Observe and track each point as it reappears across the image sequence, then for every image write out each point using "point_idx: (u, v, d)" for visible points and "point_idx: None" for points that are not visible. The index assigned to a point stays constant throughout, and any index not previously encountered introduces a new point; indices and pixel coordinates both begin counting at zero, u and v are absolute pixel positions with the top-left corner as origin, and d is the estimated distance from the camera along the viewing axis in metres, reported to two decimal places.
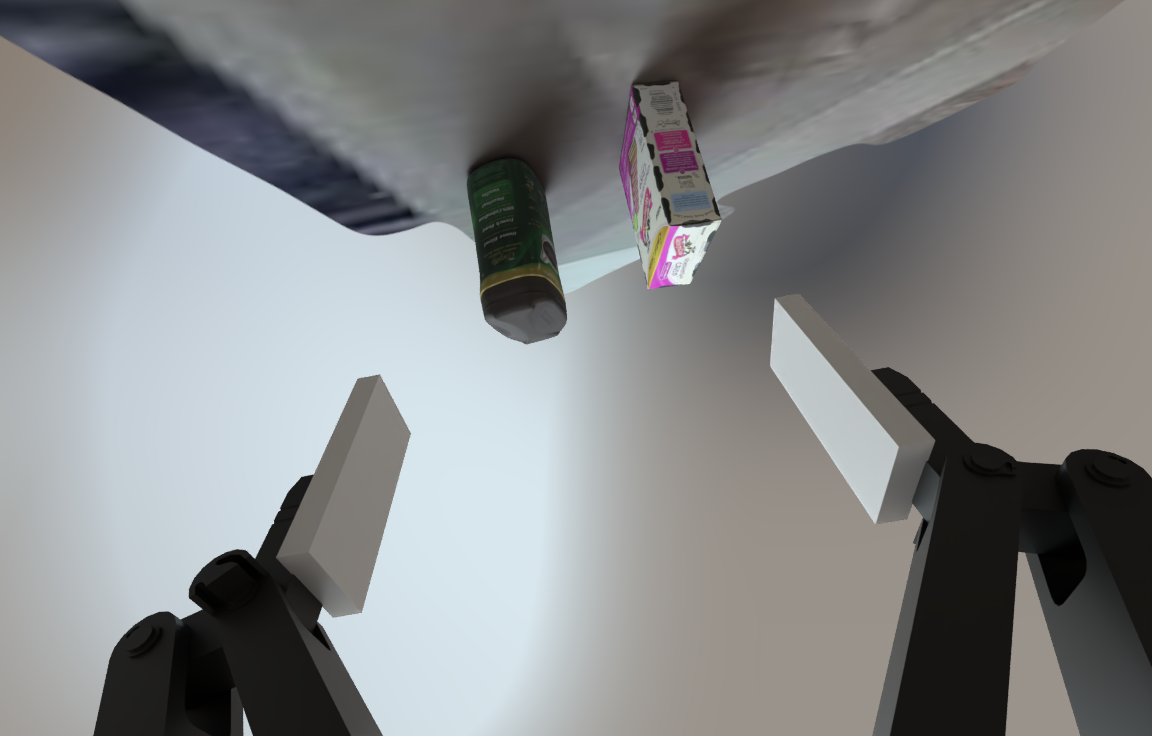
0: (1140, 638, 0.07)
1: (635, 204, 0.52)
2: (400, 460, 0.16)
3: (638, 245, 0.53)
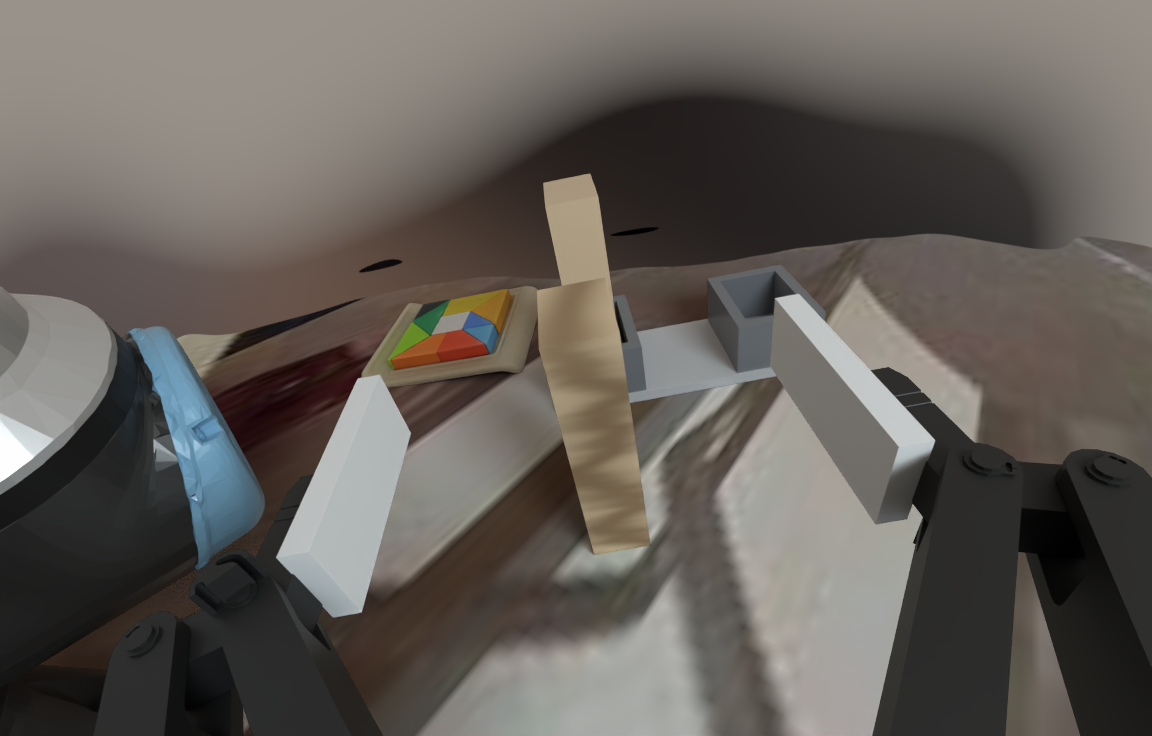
0: (1140, 638, 0.07)
1: None
2: (400, 460, 0.16)
3: None
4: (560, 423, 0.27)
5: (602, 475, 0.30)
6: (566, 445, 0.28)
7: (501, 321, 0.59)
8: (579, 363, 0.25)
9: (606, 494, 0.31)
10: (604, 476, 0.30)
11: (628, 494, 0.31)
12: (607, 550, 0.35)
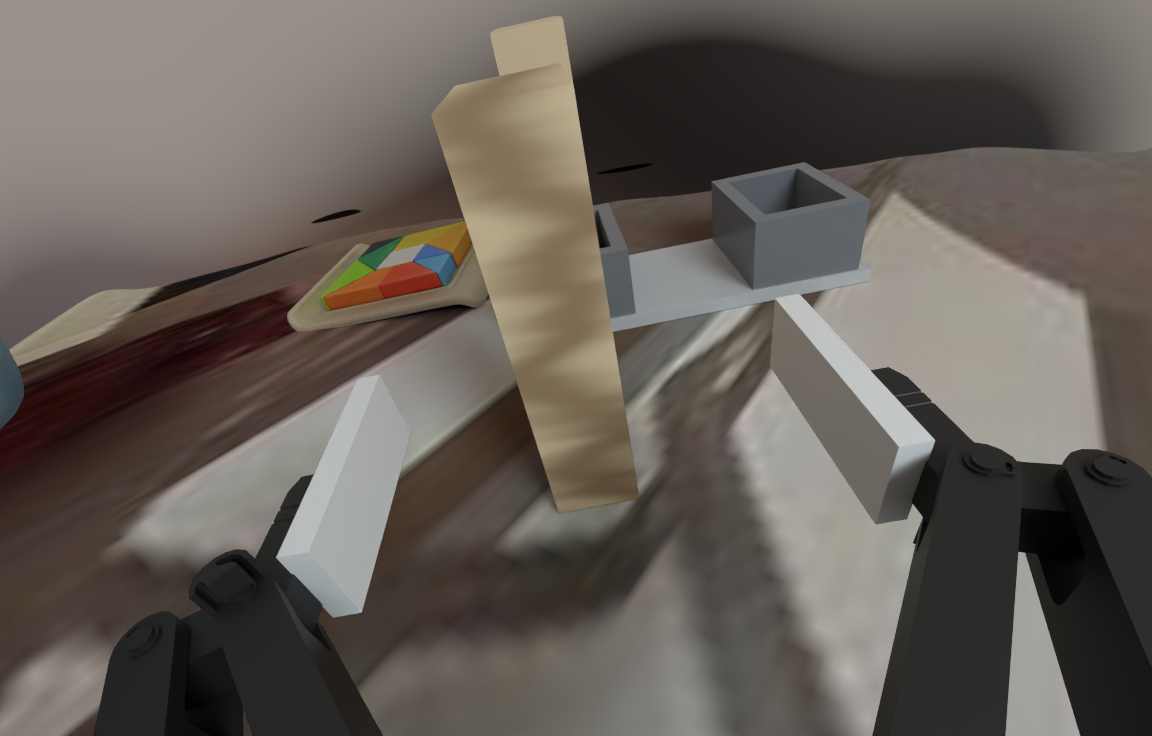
0: (1140, 638, 0.07)
1: None
2: (400, 460, 0.16)
3: None
4: (486, 278, 0.17)
5: (562, 380, 0.20)
6: (500, 322, 0.18)
7: (461, 252, 0.49)
8: (505, 151, 0.14)
9: (570, 413, 0.21)
10: (565, 381, 0.20)
11: (603, 413, 0.21)
12: (577, 506, 0.24)
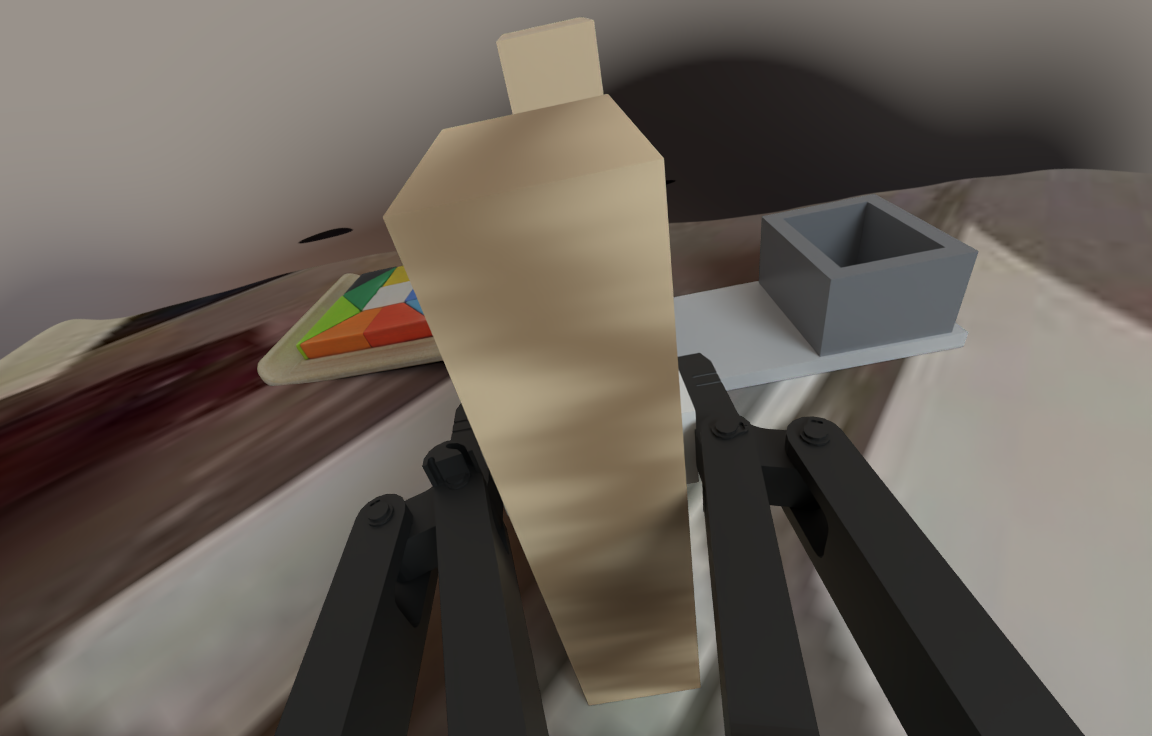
0: (877, 573, 0.09)
1: None
2: None
3: None
4: (489, 461, 0.10)
5: (606, 576, 0.13)
6: (512, 514, 0.11)
7: None
8: (527, 276, 0.08)
9: (613, 610, 0.14)
10: (610, 576, 0.13)
11: (663, 608, 0.14)
12: (615, 698, 0.17)
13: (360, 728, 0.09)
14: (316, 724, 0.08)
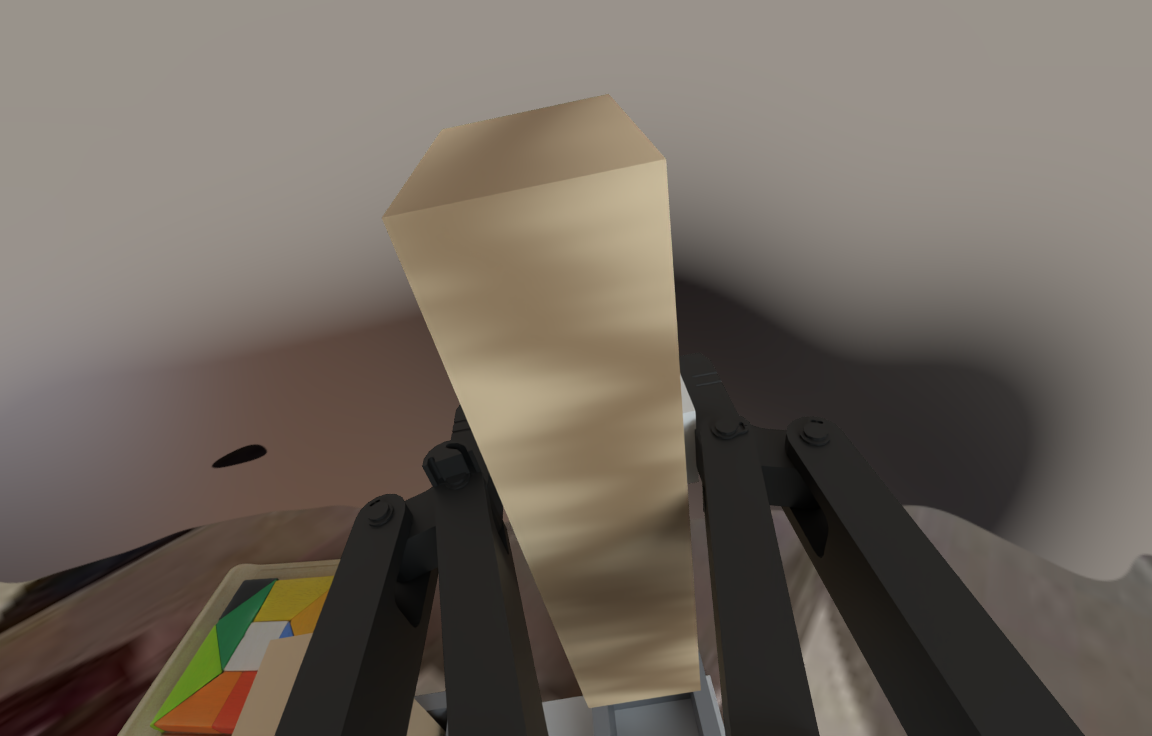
0: (877, 573, 0.09)
1: None
2: None
3: None
4: (489, 463, 0.10)
5: (606, 578, 0.13)
6: (512, 516, 0.11)
7: None
8: (527, 278, 0.08)
9: (613, 613, 0.14)
10: (610, 579, 0.13)
11: (663, 611, 0.14)
12: (615, 701, 0.17)
13: (360, 728, 0.09)
14: (316, 724, 0.08)
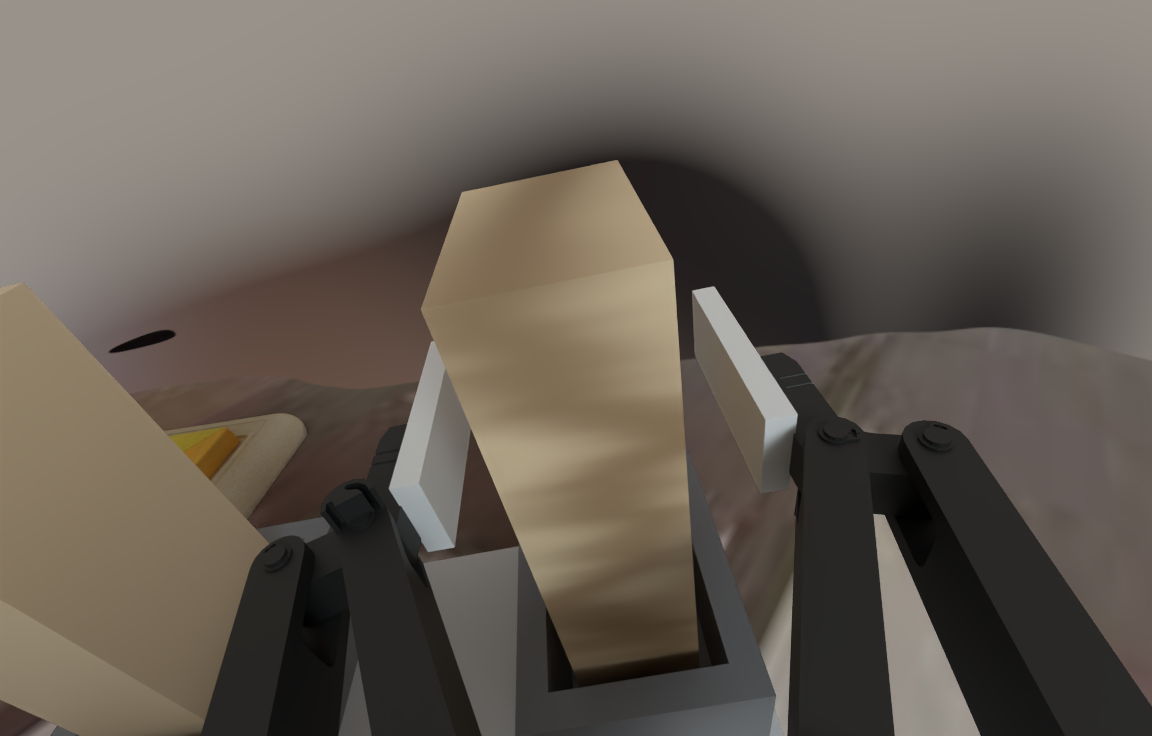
0: (986, 589, 0.08)
1: None
2: None
3: None
4: (509, 509, 0.11)
5: (614, 607, 0.14)
6: (528, 554, 0.12)
7: None
8: (549, 355, 0.09)
9: (620, 638, 0.15)
10: (617, 608, 0.14)
11: (667, 636, 0.15)
12: None
13: None
14: None
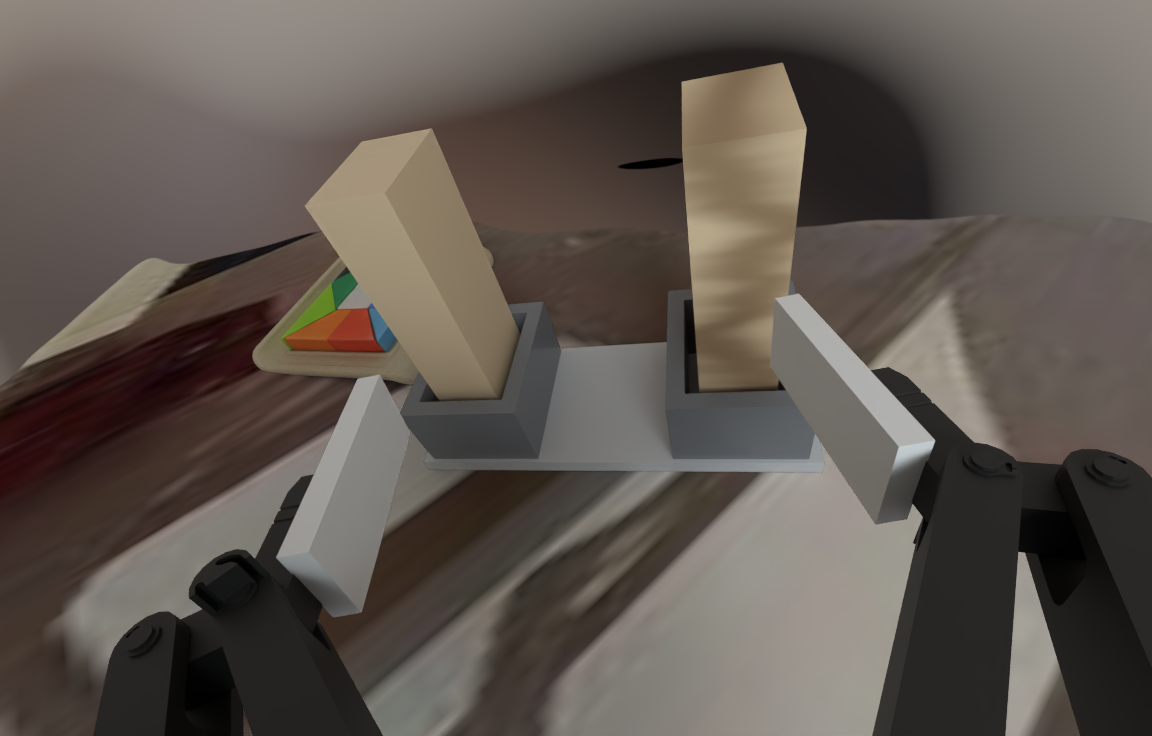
0: (1140, 638, 0.07)
1: None
2: (400, 460, 0.16)
3: None
4: (692, 265, 0.21)
5: (733, 342, 0.24)
6: (694, 297, 0.22)
7: None
8: (735, 175, 0.18)
9: (732, 367, 0.25)
10: (735, 343, 0.24)
11: (760, 370, 0.25)
12: None
13: None
14: None
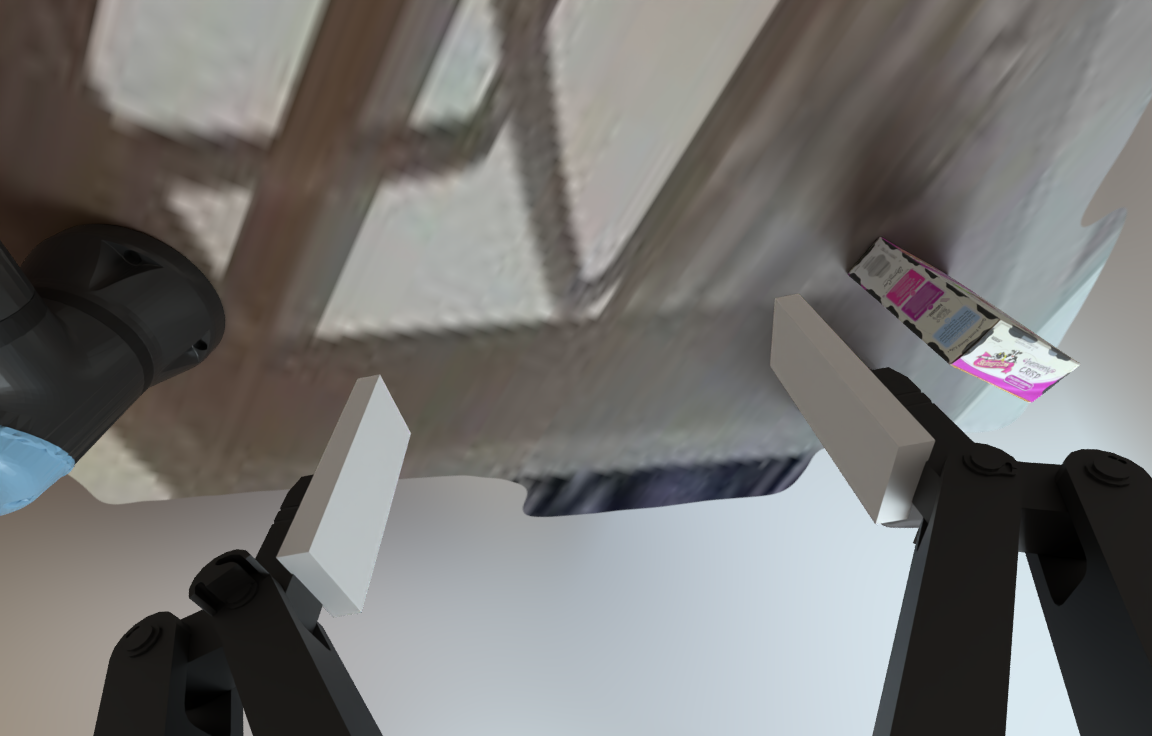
0: (1141, 638, 0.07)
1: None
2: (400, 460, 0.16)
3: None
4: None
5: None
6: None
7: None
8: None
9: None
10: None
11: None
12: None
13: None
14: None
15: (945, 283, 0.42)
